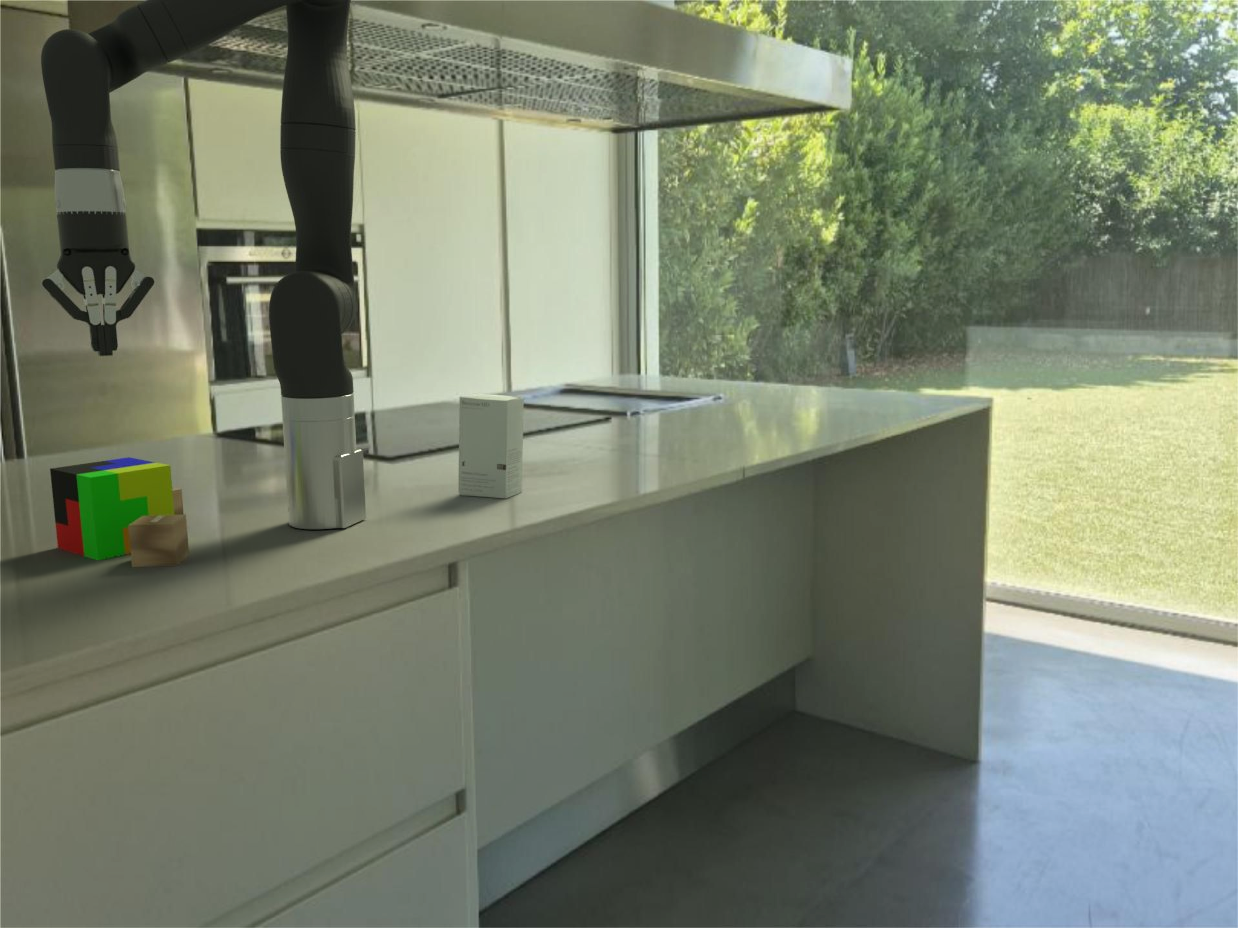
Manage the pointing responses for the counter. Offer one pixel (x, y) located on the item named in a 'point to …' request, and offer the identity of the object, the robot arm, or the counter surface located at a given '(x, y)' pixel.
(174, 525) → the one bar block
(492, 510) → the counter surface
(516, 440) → the skincare box
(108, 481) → the puzzle toy
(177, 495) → the two bar block
